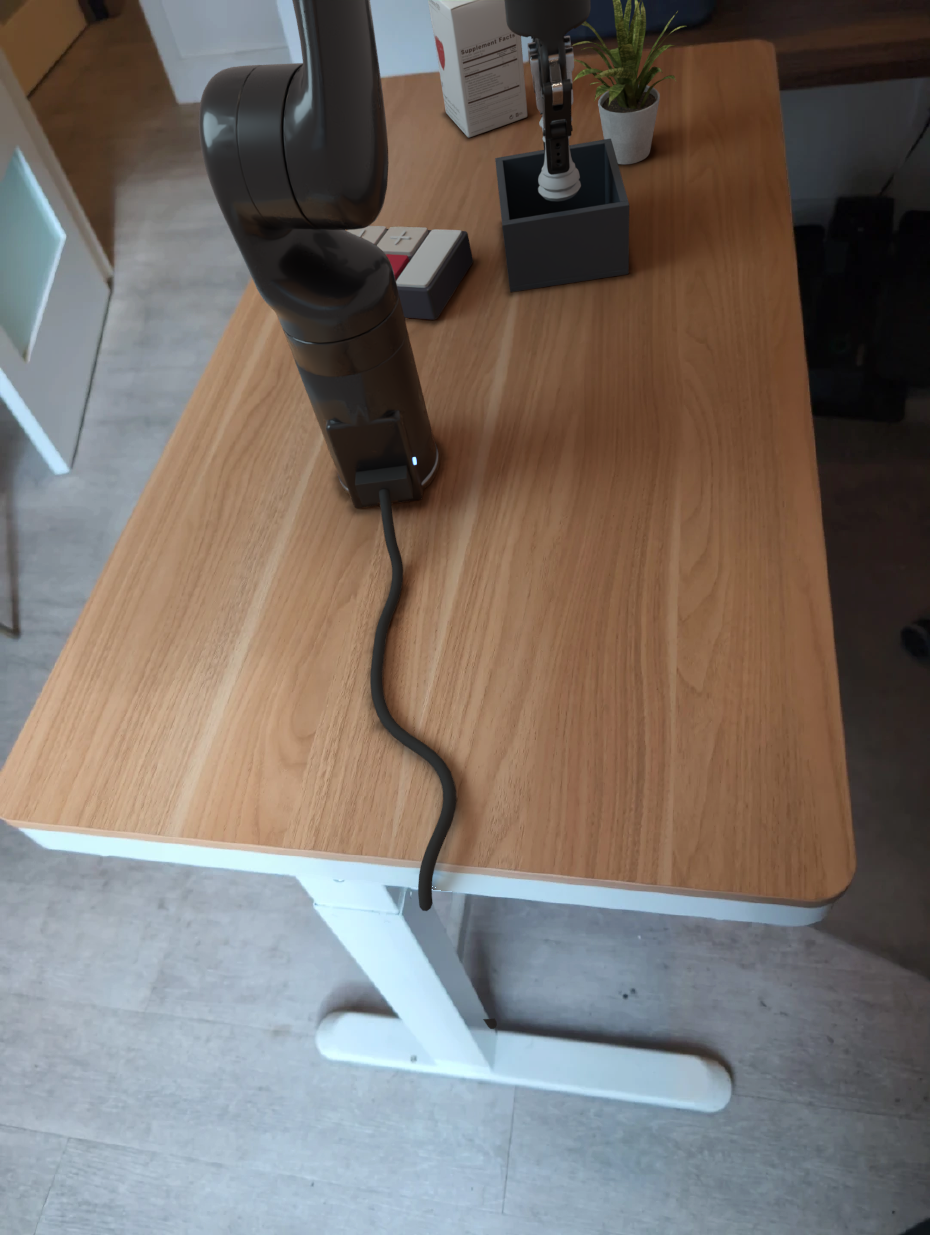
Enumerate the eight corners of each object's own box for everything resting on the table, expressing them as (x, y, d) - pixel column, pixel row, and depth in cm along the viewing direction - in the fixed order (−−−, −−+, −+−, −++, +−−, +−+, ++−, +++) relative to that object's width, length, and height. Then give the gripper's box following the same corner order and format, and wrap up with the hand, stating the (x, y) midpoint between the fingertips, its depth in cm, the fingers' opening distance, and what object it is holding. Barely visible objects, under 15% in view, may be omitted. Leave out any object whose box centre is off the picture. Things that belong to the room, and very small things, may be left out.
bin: (628, 274, 88) (629, 204, 82) (510, 292, 89) (502, 225, 83) (611, 206, 96) (610, 137, 90) (502, 223, 97) (495, 157, 91)
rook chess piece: (588, 183, 87) (586, 102, 81) (568, 206, 85) (564, 124, 79) (551, 177, 89) (546, 97, 83) (530, 199, 87) (523, 119, 81)
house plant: (548, 140, 107) (538, -10, 93) (651, 110, 107) (656, -43, 94) (585, 192, 98) (580, 36, 85) (697, 160, 99) (709, -1, 85)
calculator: (348, 220, 95) (467, 223, 90) (359, 255, 99) (474, 260, 93) (303, 277, 90) (427, 284, 85) (317, 312, 94) (436, 320, 88)
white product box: (443, 113, 115) (423, -15, 103) (503, 93, 116) (490, -37, 104) (467, 139, 110) (448, 8, 98) (529, 118, 111) (518, -15, 99)
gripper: (496, -62, 75) (515, 135, 89) (506, -2, 67) (525, 205, 81) (579, -78, 75) (585, 123, 89) (599, -20, 66) (602, 192, 80)
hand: (556, 161), depth 85 cm, fingers closed on rook chess piece, 3 cm apart
